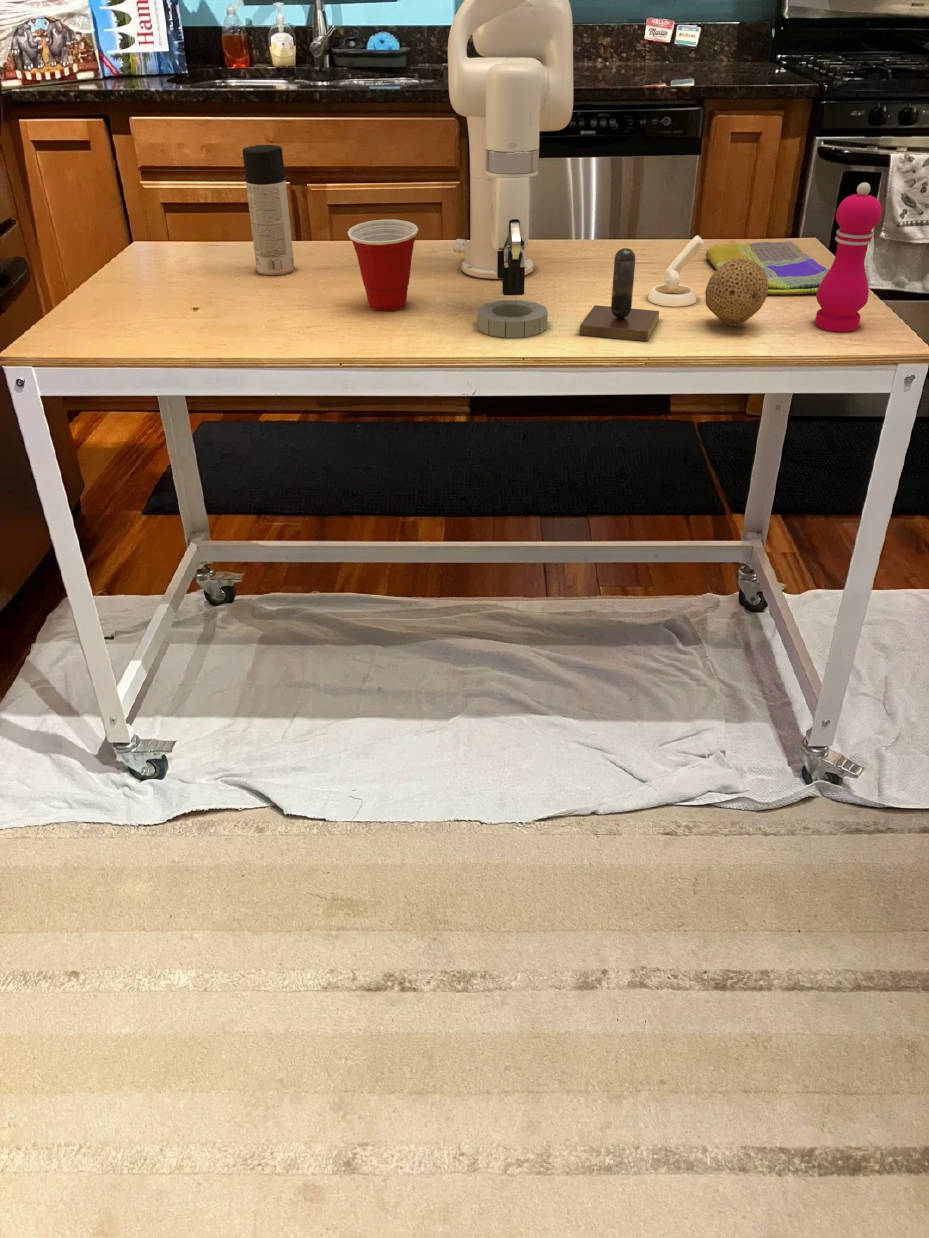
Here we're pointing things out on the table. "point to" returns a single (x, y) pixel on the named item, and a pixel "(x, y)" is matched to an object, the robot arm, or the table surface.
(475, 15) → the robot arm
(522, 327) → the grey ring
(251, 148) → the spray can
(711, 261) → the dish towel
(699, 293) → the table surface
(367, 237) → the plastic cup
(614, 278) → the spindle
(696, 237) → the white lever handle
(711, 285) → the natural sponge
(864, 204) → the pepper mill
